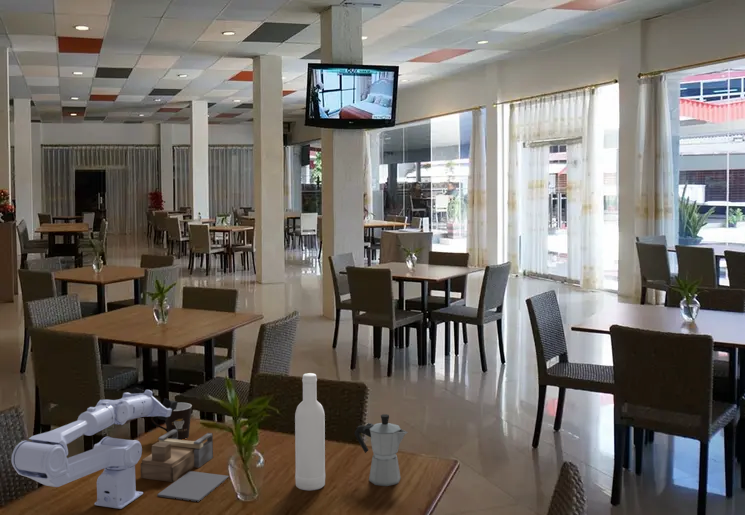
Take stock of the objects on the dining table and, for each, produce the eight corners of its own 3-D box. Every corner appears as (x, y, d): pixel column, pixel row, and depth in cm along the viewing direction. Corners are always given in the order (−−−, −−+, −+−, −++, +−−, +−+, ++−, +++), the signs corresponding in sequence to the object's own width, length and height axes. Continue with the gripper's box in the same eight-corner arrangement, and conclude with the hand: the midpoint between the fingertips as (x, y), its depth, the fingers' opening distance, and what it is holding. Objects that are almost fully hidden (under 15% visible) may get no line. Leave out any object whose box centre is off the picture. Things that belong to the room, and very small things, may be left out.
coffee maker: (411, 475, 200) (411, 412, 198) (403, 488, 191) (404, 422, 190) (359, 470, 204) (359, 407, 202) (349, 482, 195) (349, 417, 194)
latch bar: (199, 448, 205) (199, 444, 205) (159, 444, 209) (159, 440, 209) (203, 446, 207) (203, 442, 207) (163, 441, 211) (163, 437, 211)
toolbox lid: (172, 467, 195) (171, 449, 195) (141, 463, 198) (141, 445, 197) (198, 449, 208) (197, 432, 208) (169, 446, 211) (168, 429, 210)
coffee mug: (196, 433, 234) (195, 403, 233) (186, 442, 226) (186, 411, 225) (161, 432, 235) (160, 401, 234) (150, 441, 227) (149, 410, 226)
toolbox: (178, 482, 195) (177, 456, 194) (136, 477, 199) (135, 451, 198) (213, 457, 213) (212, 433, 212) (174, 452, 217) (173, 429, 216)
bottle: (331, 483, 195) (330, 373, 192) (313, 493, 188) (312, 380, 185) (307, 476, 199) (306, 369, 196) (289, 486, 193) (288, 375, 190)
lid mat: (199, 501, 183) (199, 499, 183) (157, 496, 187) (157, 494, 186) (229, 477, 198) (229, 475, 198) (190, 472, 202) (190, 470, 202)
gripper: (161, 401, 187) (189, 395, 200) (115, 383, 191) (146, 379, 204) (154, 427, 187) (183, 419, 200) (109, 409, 191) (139, 403, 204)
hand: (164, 400), depth 202 cm, fingers open, 7 cm apart
